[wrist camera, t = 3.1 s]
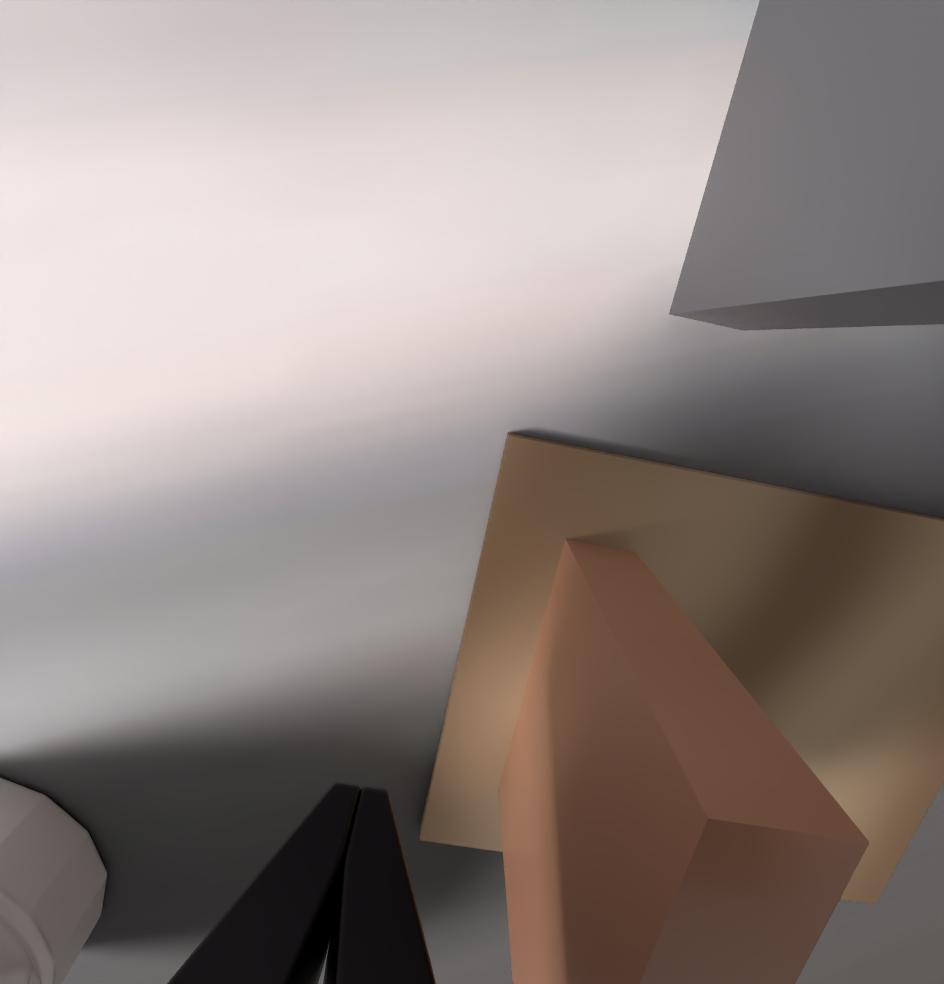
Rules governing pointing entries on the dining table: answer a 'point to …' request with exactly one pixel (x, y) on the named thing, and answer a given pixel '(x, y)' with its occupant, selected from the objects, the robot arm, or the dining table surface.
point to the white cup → (44, 887)
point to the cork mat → (719, 628)
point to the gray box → (827, 173)
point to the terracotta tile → (656, 802)
